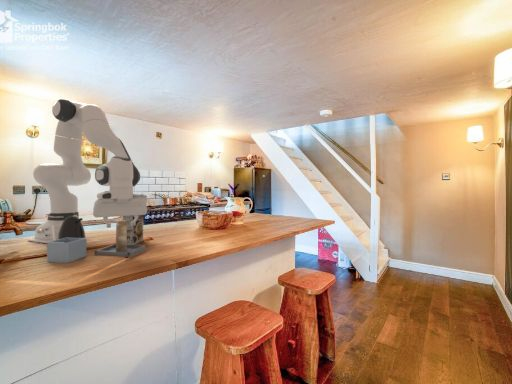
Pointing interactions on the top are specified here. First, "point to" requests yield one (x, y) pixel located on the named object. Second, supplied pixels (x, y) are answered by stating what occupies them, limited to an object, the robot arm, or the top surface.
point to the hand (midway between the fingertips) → (121, 226)
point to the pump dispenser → (71, 228)
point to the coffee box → (134, 230)
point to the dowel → (121, 235)
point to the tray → (130, 252)
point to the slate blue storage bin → (66, 249)
